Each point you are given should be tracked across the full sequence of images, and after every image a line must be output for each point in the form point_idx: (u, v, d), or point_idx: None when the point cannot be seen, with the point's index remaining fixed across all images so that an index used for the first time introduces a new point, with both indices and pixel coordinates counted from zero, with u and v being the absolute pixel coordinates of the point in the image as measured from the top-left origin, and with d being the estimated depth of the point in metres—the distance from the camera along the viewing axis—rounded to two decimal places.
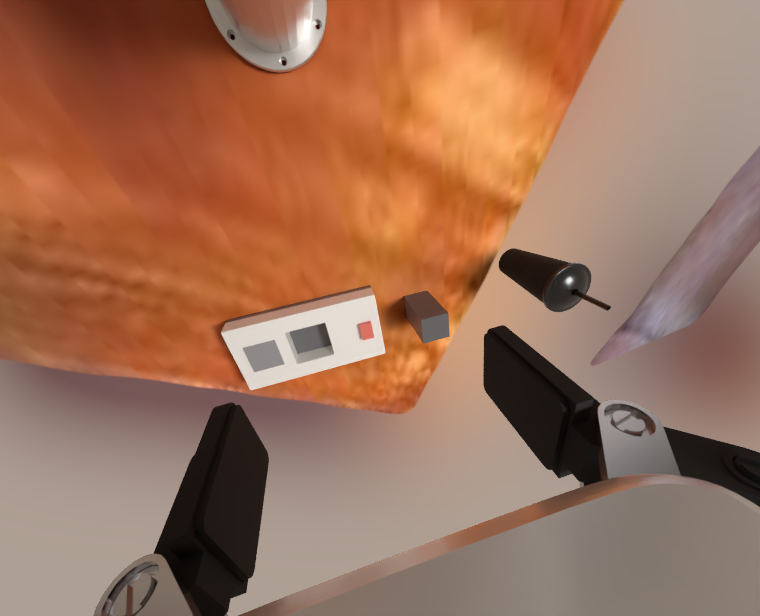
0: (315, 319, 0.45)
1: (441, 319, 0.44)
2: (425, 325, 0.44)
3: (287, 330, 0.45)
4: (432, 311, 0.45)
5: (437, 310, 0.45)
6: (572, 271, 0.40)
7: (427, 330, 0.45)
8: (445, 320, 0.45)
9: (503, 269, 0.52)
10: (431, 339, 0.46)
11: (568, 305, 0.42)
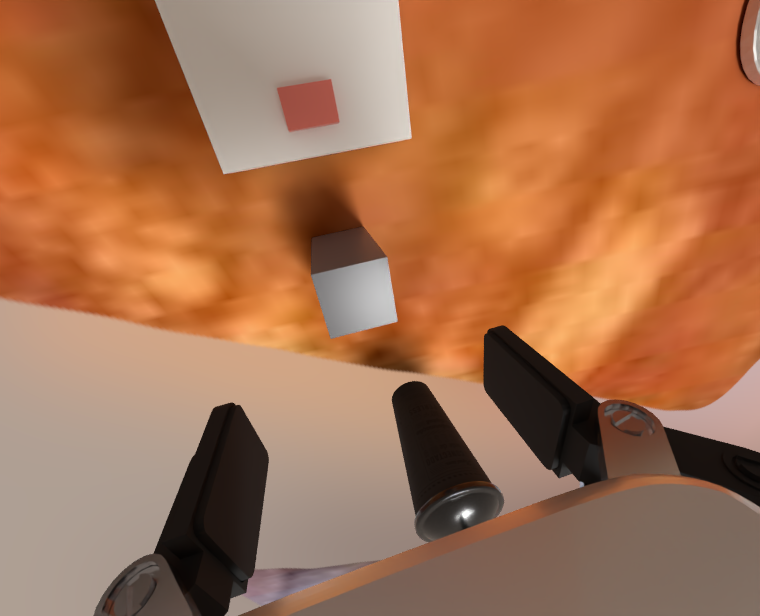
0: None
1: (381, 309, 0.18)
2: (367, 272, 0.17)
3: None
4: None
5: None
6: (497, 509, 0.23)
7: (353, 280, 0.17)
8: (378, 319, 0.18)
9: (408, 392, 0.32)
10: (323, 295, 0.17)
11: (435, 535, 0.22)
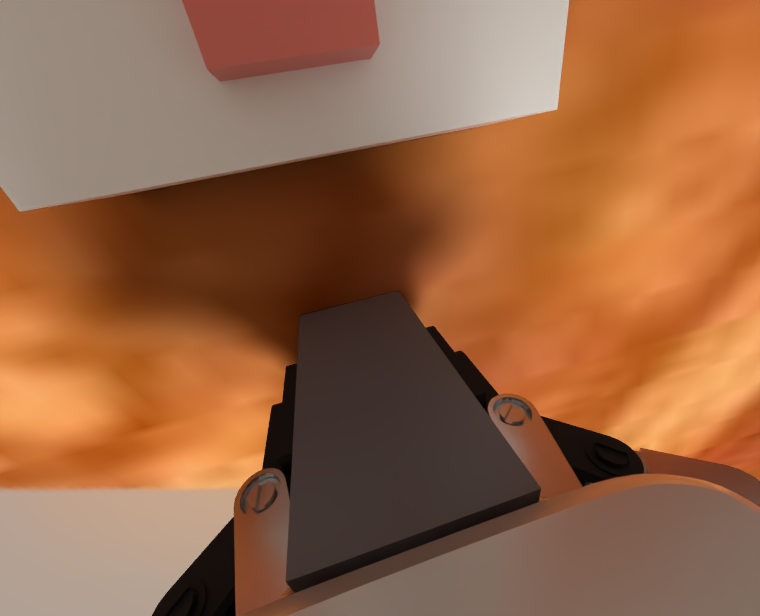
0: None
1: None
2: None
3: None
4: None
5: None
6: None
7: None
8: None
9: None
10: None
11: None
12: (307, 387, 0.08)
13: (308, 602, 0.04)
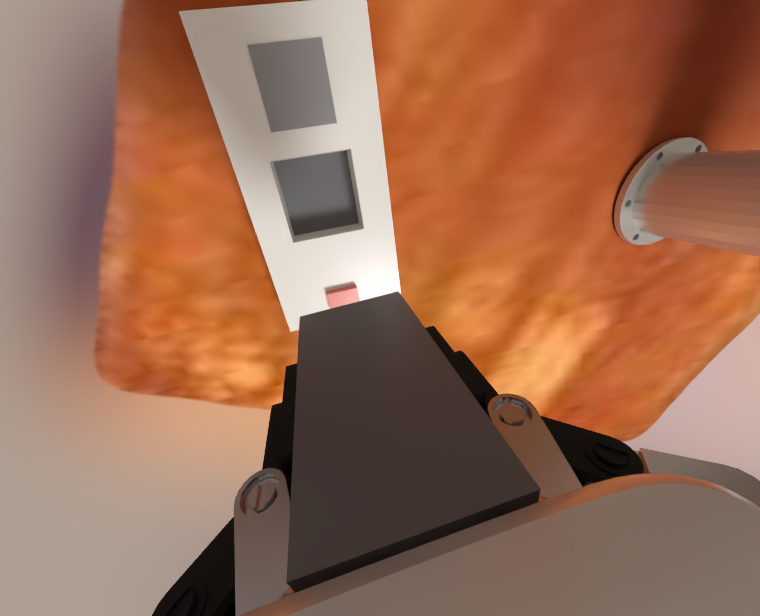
0: (372, 212, 0.26)
1: None
2: None
3: (355, 155, 0.23)
4: None
5: None
6: None
7: None
8: None
9: None
10: None
11: None
12: (307, 388, 0.08)
13: (308, 602, 0.04)
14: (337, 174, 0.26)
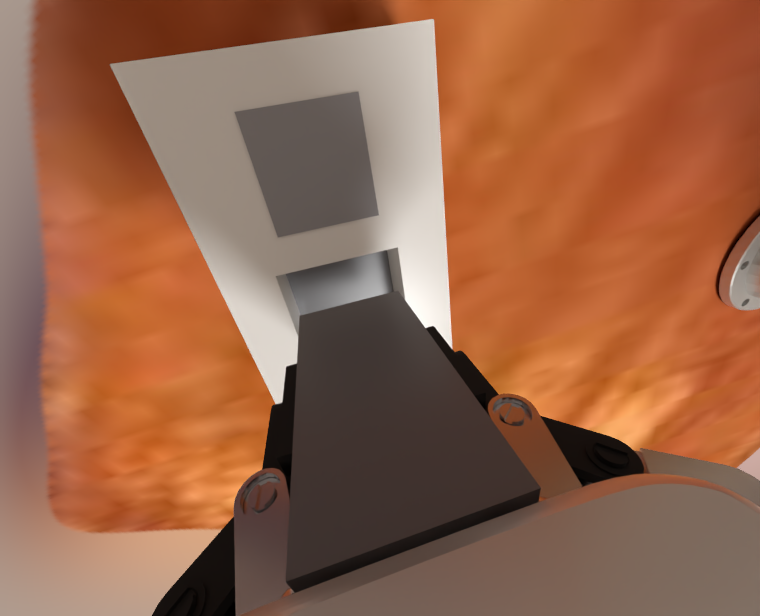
0: (424, 324, 0.18)
1: None
2: None
3: (404, 255, 0.15)
4: None
5: None
6: None
7: None
8: None
9: None
10: None
11: None
12: (307, 387, 0.08)
13: (308, 602, 0.04)
14: (371, 266, 0.18)
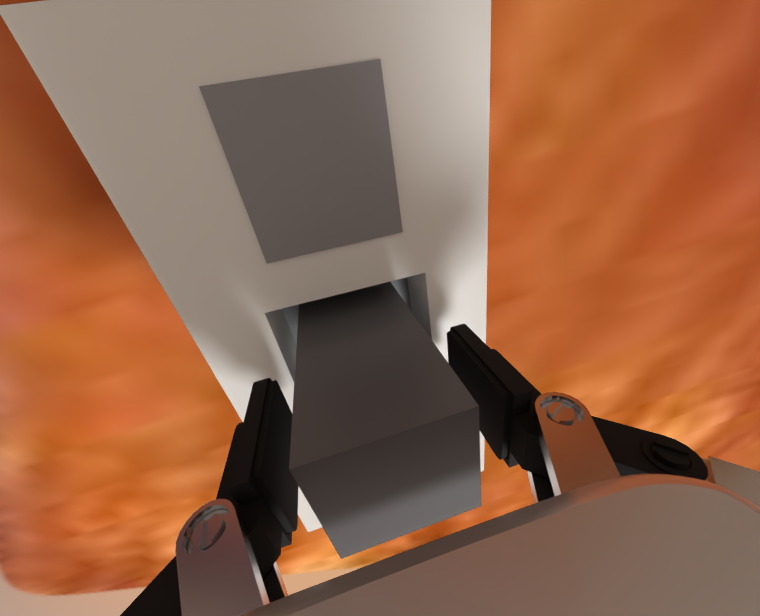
0: None
1: (452, 495, 0.08)
2: (430, 440, 0.07)
3: (433, 282, 0.12)
4: None
5: None
6: None
7: (394, 461, 0.07)
8: (444, 511, 0.08)
9: None
10: (322, 499, 0.07)
11: None
12: (305, 351, 0.10)
13: (308, 602, 0.04)
14: None
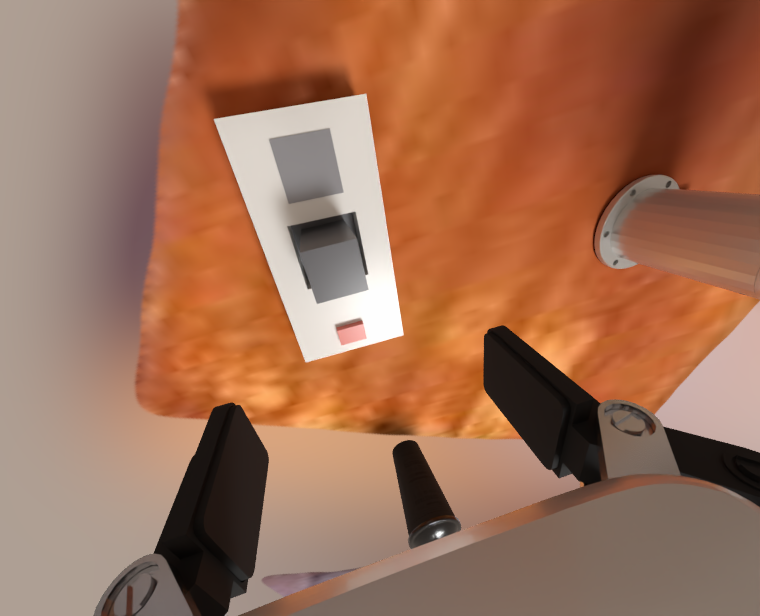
0: (375, 261, 0.29)
1: (355, 280, 0.23)
2: (342, 250, 0.22)
3: (359, 216, 0.27)
4: None
5: None
6: (456, 531, 0.39)
7: (331, 257, 0.22)
8: (353, 288, 0.24)
9: (403, 449, 0.48)
10: (309, 269, 0.22)
11: None
12: (304, 238, 0.25)
13: (308, 602, 0.04)
14: None
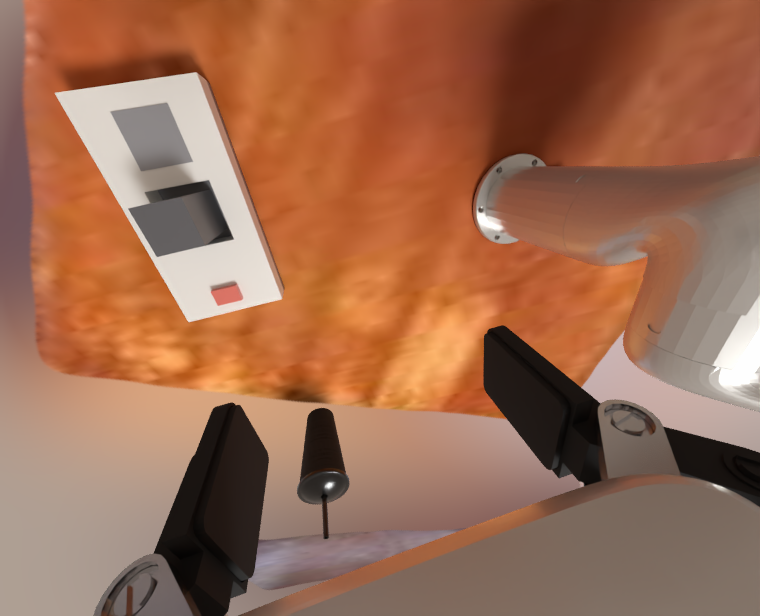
0: (238, 226, 0.33)
1: (189, 235, 0.27)
2: (170, 207, 0.25)
3: (213, 184, 0.30)
4: (201, 223, 0.28)
5: (204, 230, 0.28)
6: (343, 483, 0.42)
7: (160, 213, 0.25)
8: (189, 243, 0.27)
9: (314, 416, 0.51)
10: (141, 224, 0.25)
11: (307, 498, 0.41)
12: None
13: (308, 602, 0.04)
14: None
